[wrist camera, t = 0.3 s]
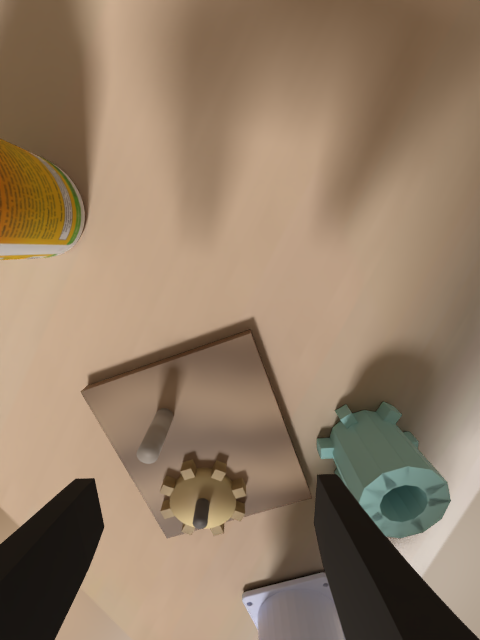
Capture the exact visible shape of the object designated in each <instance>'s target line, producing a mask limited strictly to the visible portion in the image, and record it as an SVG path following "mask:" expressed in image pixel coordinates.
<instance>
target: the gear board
mask: <svg viewBox="0 0 480 640" xmlns="http://www.w3.org/2000/svg"><path fill="white" fill-rule="evenodd" d="M81 393H82V395H83V397H84V399H85V400H86V402H87V404H88V405H89V407H90V409H91V410H92V412H93V414H94V415H95V417H96V419H97V421H98V422H99V424H100V426H101V427H102V429H103V431H104V432H105V434H106V436H107V437H108V439H109V441H110V443H111V444H112V446H113V448H114V449H115V451H116V453H117V454H118V456H119V458H120V460H121V461H122V463H123V465H124V466H125V468H126V470H127V471H128V473H129V475H130V476H131V478H132V480H133V482H134V483H135V485H136V487H137V488H138V490H139V492H140V493H141V495H142V497H143V499H144V500H145V502H146V504H147V505H148V507H149V509H150V510H151V512H152V514H153V515H154V517H155V519H156V521H157V522H158V524H159V526H160V527H161V529H162V531H163V532H164V534H165V536H166V538H170V537H174V536H177V535H181V534H185V533H186V534H189V535H192V533H193V531H195V530H199V529H204V528H210V530H211V531H212V533H213V535H214V536H215V535H219V534H223V533H224V523H225V522H228V521H231V520H238V521H240V522H241V520H242V518H243V517H246V516H249V515H253V514H256V513H260V512H264V511H267V510H271V509H274V508H278V507H281V506H285V505H289V504H292V503H296V502H299V501H303V500H307V499H310V498H312V497H311V494H310V490H309V487H308V485H307V482H306V479H305V476H304V474H303V471H302V468H301V466H300V463H299V460H298V457H297V455H296V452H295V449H294V447H293V444H292V441H291V438H290V436H289V433H288V430H287V428H286V425H285V422H284V419H283V417H282V414H281V411H280V409H279V406H278V403H277V400H276V398H275V395H274V392H273V390H272V387H271V384H270V381H269V379H268V376H267V373H266V371H265V368H264V365H263V362H262V360H261V357H260V354H259V352H258V349H257V346H256V343H255V341H254V338H253V335H252V333H251V330H247V331H244V332H241V333H239V334H236V335H233V336H230V337H227V338H224V339H221V340H218V341H215V342H212V343H210V344H207V345H204V346H201V347H198V348H195V349H192V350H189V351H186V352H184V353H181V354H178V355H175V356H172V357H169V358H166V359H163V360H160V361H157V362H155V363H152V364H149V365H146V366H143V367H140V368H137V369H134V370H131V371H129V372H126V373H123V374H120V375H117V376H114V377H111V378H108V379H105V380H102V381H100V382H97V383H94V384H91V385H88V386H86V387H85V388H84V389H83V390H82V391H81Z"/></svg>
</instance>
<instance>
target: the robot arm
mask: <svg viewBox="0 0 480 640" xmlns="http://www.w3.org/2000/svg"><path fill="white" fill-rule="evenodd" d="M314 526H315V531H316V535H317V540H318V545H319V550H320V554H321V559H322V563H323V567H324V570H325V572H321V573H318V574H314V575H310V576H306V577H302V578H298V579H294V580H290V581H286V582H282V583H278V584H274V585H270V586H266V587H262V588H258V589H254V590H250V591H246V592H244V593H243V594H242V601H243V603H244V605H245V607H246V609H247V611H248V612H249V614H250V616H251V618H252V620H253V622H254V624H255V626H256V627H257V629H258V638H259V640H479V638H477V636H476V635H475V634H474V633H473V632H472V631H471V630H470V629H469V628H468V627H467V626H466V625H465V624H464V623H463V622H462V621H461V620H460V619H459V618H458V617H457V616H456V615H455V614H454V613H453V612H452V611H451V610H450V609H449V607H448V606H447V605H446V604H445V603H444V602H443V601H442V600H441V599H440V598H439V597H438V596H437V595H436V593H435V592H434V591H433V590H432V589H431V588H430V587H429V586H428V584H427V583H426V582H425V581H424V580H423V579H422V578H421V577H420V576H419V574H418V573H417V572H416V571H415V570H414V569H413V568H412V567H411V565H410V564H409V563H408V562H407V561H406V560H405V558H404V557H403V556H402V555H401V554H400V553H399V551H398V550H397V549H396V548H395V547H394V545H393V544H392V543H391V542H390V541H389V540H388V538H387V537H386V536H385V535H384V534H383V532H382V531H381V530H380V529H379V528H378V526H377V525H376V524H375V523H374V521H373V520H372V519H371V518H370V516H369V515H368V514H367V513H366V511H365V510H364V509H363V507H362V506H361V505H360V504H359V502H358V501H357V500H356V498H355V497H354V496H353V495H352V493H351V492H350V491H349V489H348V488H347V487H346V485H345V484H344V483H343V481H342V480H341V479H340V477H339V476H338V475H337V474H323V475H317V488H316V502H315V516H314ZM103 529H104V523H103V518H102V513H101V508H100V503H99V498H98V493H97V489H96V484H95V479H94V478H91V479H75V480H74V481H72V482H71V483H70V484H69V485H68V486H67V487H65V488H64V489H63V490H62V491H61V492H60V493H59V494H57V495H56V496H55V497H54V498H53V499H52V500H51V501H49V502H48V503H47V504H46V505H45V506H44V507H43V508H41V509H40V510H39V511H38V512H37V513H36V514H35V515H34V516H32V517H31V518H30V519H29V520H28V521H27V522H26V523H24V524H23V525H22V526H21V527H20V528H19V529H17V531H15V532H14V533H13V534H12V535H11V536H9V537H8V538H7V539H6V540H5V541H4V542H2V543H1V544H0V640H55V638H56V636H57V634H58V631H59V630H60V628H61V625H62V623H63V621H64V619H65V617H66V615H67V613H68V611H69V609H70V607H71V605H72V603H73V601H74V599H75V596H76V594H77V592H78V590H79V588H80V586H81V584H82V582H83V580H84V578H85V575H86V573H87V571H88V569H89V567H90V564H91V561H92V559H93V556H94V554H95V551H96V548H97V546H98V543H99V540H100V537H101V535H102V532H103Z"/></svg>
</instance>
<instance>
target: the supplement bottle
mask: <svg viewBox="0 0 480 640" xmlns="http://www.w3.org/2000/svg"><path fill="white" fill-rule="evenodd" d="M84 222H85V210H84V205H83V201H82V198H81V196H80V193H79V191H78V189H77V188H76V186H75V184H74V183H73V181H72V180H71V179H70V178H69V176H68V175H67V174H66V173H65V172H64V171H62V170H61V169H60V168H59V167H57V166H56V165H55V164H53V163H51V162H50V161H48V160H46V159H44V158H42V157H40V156H37V155H35V154H33V153H31V152H29V151H26V150H24V149H22V148H20V147H17V146H15V145H13V144H11V143H9V142H6V141H4V140H2V139H0V260H9V259H32V258H46V257H53V256H58V255H61V254H63V253H65V252H67V251H68V250H70V249H71V248H72V247H73V246H74V245H75V244H76V243H77V241H78V240H79V238H80V236H81V234H82V231H83V228H84Z"/></svg>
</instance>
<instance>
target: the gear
mask: <svg viewBox="0 0 480 640" xmlns="http://www.w3.org/2000/svg"><path fill="white" fill-rule="evenodd" d="M335 412H336V413H337V415H338V417H339V418H340V420H341V421H339V422H338V423H337V424H336V425H335V426H334V427H333V428H332V431H331V435H330V438H318V439H317V450H318V453H319V455H320V458H321V459H329V458H333V460H334V462H335V464H336V466H337V469H336V470H335V471H334V473H335V474H337V475H338V476H339V477H340V479H341V480H342V481H343V483H344V484H345V485H346V487H347V488H348V489H349V491H350V492H351V493H352V495H353V496H354V497H355V498H356V500H357V501H358V502H359V504H360V505H361V506H362V507H363V509H364V510H365V511H366V513H367V514H368V515H369V516H370V518H371V519H372V520H373V521H374V523H375V524H376V525H377V526H378V528H379V529H380V530H381V531H382V532H383V534H384V535H385V536H387V537H395V538H403V537H407V536H411V535H415V534H419V533H423V532H424V531H426V530H427V529H428V528H430V527H431V526H433V525H434V524H435V523H437V522H438V521H439V520H441V519H442V517H443V515H444V513H445V511H446V509H447V507H448V505H449V503H450V501H451V500H450V494H449V489H448V484H447V481H446V480H445V479H444V478H443V477H442V476H441V475H440V474H439V472H438V471H437V470H436V469H435V468H434V467H433V466H432V465H431V463H430V462H429V461H428V460H427V459H426V458H425V457H424V456H423V454H422V453H421V452H420V451H419V450H418V442H419V441H418V440H417V439H416V438H415V437H414V436H413V435H412V434H411V433H410V432H402V431H401V430H400V429H399V427H398V426H397V425H396V423H397V421H398V420H399V418H400V417H401V416H402V414H401V413H400V412H399V411H398V410H397V409H396V408H395V407H394V406H392V405H390V404H388V403H385V402H382V404H381V405H380V407H379V408H378V410H377V411H376V412H373V411H367V410H363V411H359V412H356V413H353V414H352V412H351V411H350V409H349V408H348V407H347V405H344V406H342V407H340V408H339V409H337V410H335Z"/></svg>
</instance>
